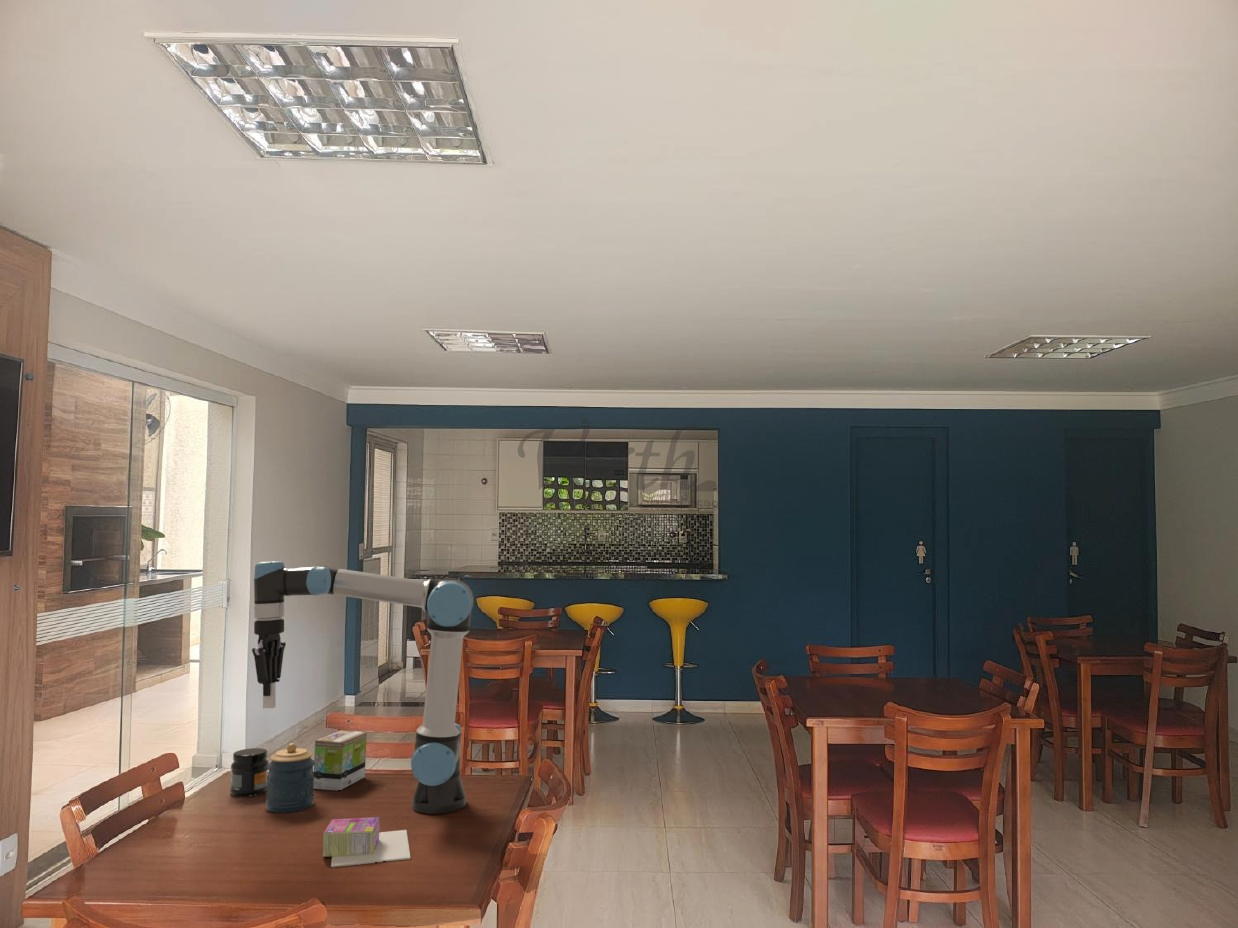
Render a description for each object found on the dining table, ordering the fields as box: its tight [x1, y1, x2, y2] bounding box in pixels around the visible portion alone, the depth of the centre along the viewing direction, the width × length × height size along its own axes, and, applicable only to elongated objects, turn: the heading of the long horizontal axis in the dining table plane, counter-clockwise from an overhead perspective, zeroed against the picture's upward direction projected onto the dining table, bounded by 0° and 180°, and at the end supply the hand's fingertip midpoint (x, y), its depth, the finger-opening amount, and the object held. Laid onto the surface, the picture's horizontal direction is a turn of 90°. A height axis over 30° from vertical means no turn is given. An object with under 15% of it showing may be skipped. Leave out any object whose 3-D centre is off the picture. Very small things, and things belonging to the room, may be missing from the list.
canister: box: [265, 742, 315, 814], centre depth 244 cm, size 13×13×18 cm
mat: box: [330, 829, 411, 868], centre depth 210 cm, size 18×20×1 cm
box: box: [322, 816, 381, 858], centre depth 209 cm, size 10×6×12 cm
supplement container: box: [229, 747, 270, 797], centre depth 257 cm, size 10×10×12 cm
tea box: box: [313, 730, 368, 791], centre depth 266 cm, size 15×10×15 cm
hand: (269, 707), depth 228 cm, fingers closed
